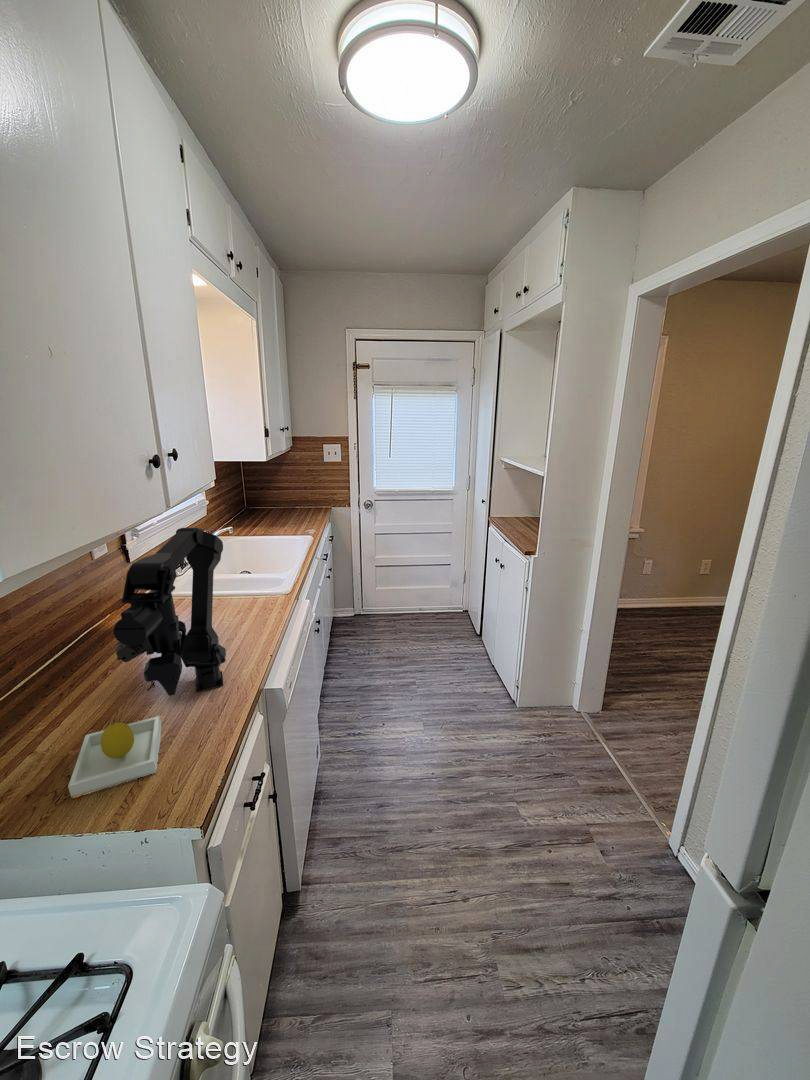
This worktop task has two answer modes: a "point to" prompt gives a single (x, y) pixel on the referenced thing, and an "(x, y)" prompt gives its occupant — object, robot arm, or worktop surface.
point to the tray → (116, 759)
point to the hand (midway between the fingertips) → (173, 682)
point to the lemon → (117, 740)
